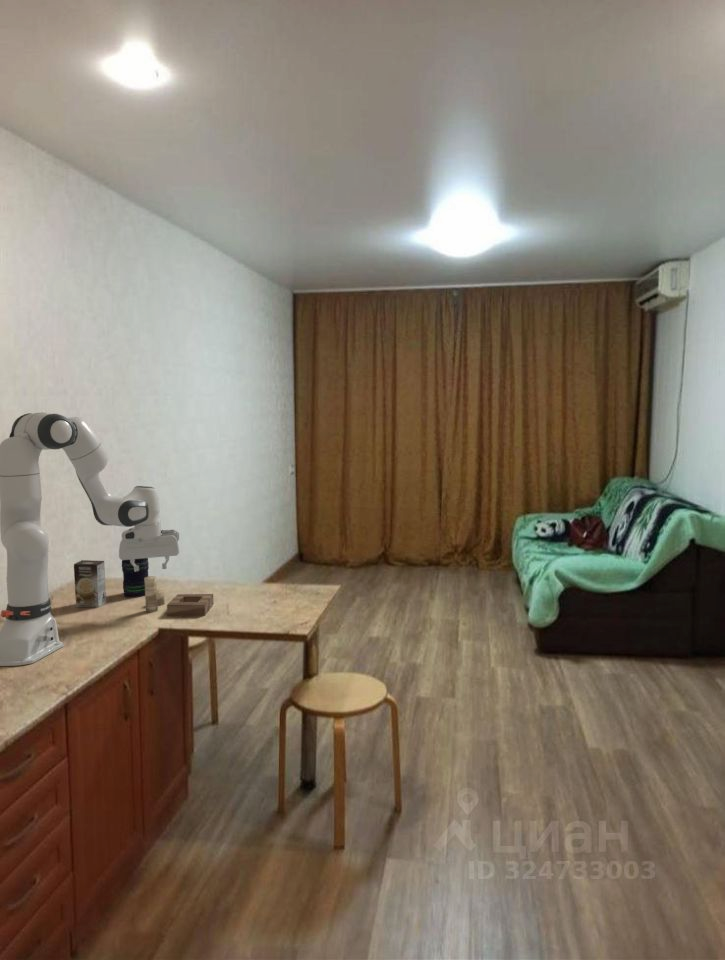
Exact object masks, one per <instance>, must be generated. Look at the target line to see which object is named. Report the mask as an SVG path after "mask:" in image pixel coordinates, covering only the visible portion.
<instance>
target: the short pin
mask: <svg viewBox="0 0 725 960" xmlns="http://www.w3.org/2000/svg"><path fill="white" fill-rule="evenodd" d="M157 603H158V606H159V607H160V606H164V605H165V604H166V603H165V590H164V589H160V588H159V589H157Z"/></svg>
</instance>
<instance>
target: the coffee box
mask: <svg viewBox="0 0 725 960" xmlns="http://www.w3.org/2000/svg"><path fill="white" fill-rule="evenodd" d="M105 569H106V568H105V560H91V559H90V560H88V559H87V560H86V559H85V560H84V559H81V560H79V561H77V562H75V563H73V574H74V575H73V576H74V593H75V595H74V596H75V607H76V608H100V607H102V606H103V605H105V604H106V603H107V592H106V572H105V571H106V570H105Z"/></svg>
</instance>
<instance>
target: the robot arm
mask: <svg viewBox="0 0 725 960" xmlns="http://www.w3.org/2000/svg"><path fill="white" fill-rule="evenodd" d="M60 449H61V450H63V451H64V453H65V455H66V457H67V458H68V460H69V461H70V463H71V464H72V466H73V467H74V469H75V475H76V477H77V478H78V480H79V483H80V485H81V487H82V488H83V490H84V492H85V494H86V495H87V498H88V500H89V502H90V504H91V508H92V512H93V516H94V519H95V520H96V521H97V522H98V524H100V525H102V526H113V527H114V526H116V527H124V528H125V527H126V528H129V529H125V530H123V531H122V532H121V541H120V543H119V548H118V558H119V559H120V560H121V561H122V560H130V563H131V564H132V565H133V567H134V572H136V571H139V565H138V566H136V564H135V563H134V562H135V559H142V558H148V559H152V558H153V559H154V558H163V557H164V559H165V561H164V562H162V563H161V568H162V570H167V564H168V562H169V560H170V557H175V556H178V555H179V554H180V550H179V549H180V547H179V542H178V541H179V540H180V533H179V532H178V531H177V530H175V529H162V524H161V519H160V511H161V509H160V508H161V506H160V499H159V498H160V497H159V493H158V491H157V489H156V488H155V487H153V486H144V485H137V486H134V487H133V489H132V490H131V491H130V492H129V493H128V494H127V495H125V496H122V497H115V496H113V495H111V494H110V493H109V492H108V490H107V488H106V487H105V485H104V482H103V481H102V478H101V477H100V473H101V472H102V471H103V470H104V469H106V467H107V465H108V461H109V455H108V452H107V450H106V448H105V446H104V445H103V443H102V441H101V439H100V438H99V437H98V435H97V433H96V432H95V430H93V429H92V427H91V426H90V424H88V423H87V421H85V420H84V419H83V418H81V417H77V416H73V417H66V416H64V415H62V414H60V413H47V412H32V413H29V412H28V413H26V414H22V415H20V416H19V417H17V418H16V419H15V421H14V422H13V424H12V426H11V430H10V434H9V436H8V438H5V439H3V440H2V441H1V442H0V541H1V544H2V546H3V547H4V548H5V549H6V555H7V556H6V577H5V578H6V590H7V592H6V593H7V604H6V609H5V610H4V609H2V610H1V612H0V617H1V618H5V620H4V622H3V624H2V626H1V628H0V667H11V666H12V667H13V666H14V667H15V666H25V665H30V664H33V663H35V662H38V661H39V660H40V659H41V660H42V659H43V658H45V657H46V656H48V655H50V654H52V653H54V652H56V651H57V650H59V649H61V648H63V647H64V642H62V641H60V637H59V632H58V624H57V621H56V618H55V617H54V616H53V615H52V613H51V612H52V602H51V599H50V597H49V582H48V581H49V580H48V579H49V578H48V566H49V536H48V533H47V531H46V529H44V528H43V527H42V526H41V508H42V507H41V506H42V499H43V498H42V486H41V475H40V462H39V460H40V455H41V453H42V451H45V450H60ZM130 527H131V528H130Z"/></svg>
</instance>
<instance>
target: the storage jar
mask: <svg viewBox="0 0 725 960" xmlns="http://www.w3.org/2000/svg"><path fill="white" fill-rule="evenodd" d="M134 563H135V564H136V566H138V565H139V571H136V572H134V567H133V565H132V564H131V563H130V560H121V570H122V575H123V576H122V578H123V580H122V588H123V589H122V590H123V596H124V597H126V598H141V597H145V581H144V578H145V577H149V569H150V568H149V564H150V563H149V558H142V559H135V562H134Z"/></svg>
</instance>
